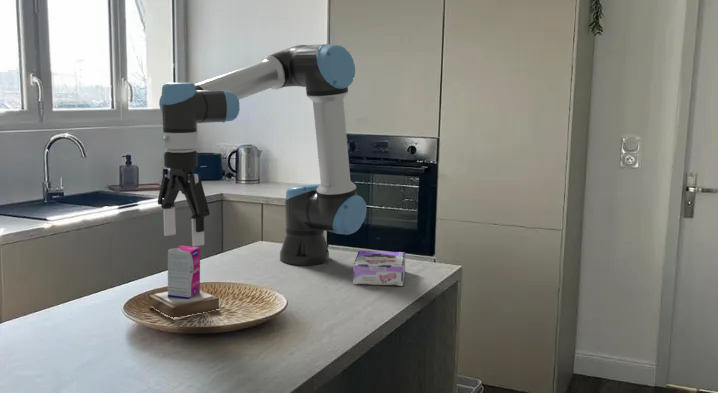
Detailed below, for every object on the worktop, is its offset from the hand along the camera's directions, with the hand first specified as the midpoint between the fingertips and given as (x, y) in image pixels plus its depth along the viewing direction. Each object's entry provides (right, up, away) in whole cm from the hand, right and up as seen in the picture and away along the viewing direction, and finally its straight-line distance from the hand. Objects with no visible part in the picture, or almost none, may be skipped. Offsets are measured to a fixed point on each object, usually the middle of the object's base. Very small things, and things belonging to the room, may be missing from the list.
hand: (183, 240), depth 169 cm
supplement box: (0, -13, +2) cm, 14 cm away
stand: (-1, -17, +2) cm, 17 cm away
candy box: (+48, -8, +40) cm, 63 cm away
